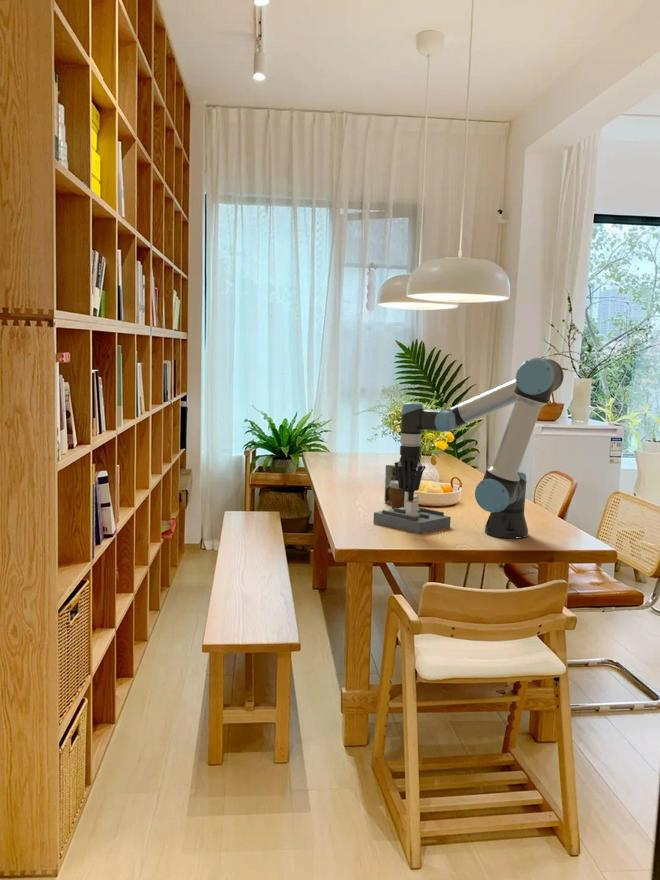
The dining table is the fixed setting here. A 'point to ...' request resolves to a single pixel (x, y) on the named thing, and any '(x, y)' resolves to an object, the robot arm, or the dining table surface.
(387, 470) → the coffee box
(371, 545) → the dining table surface
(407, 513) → the breaker slider
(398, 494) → the disposable coffee cup
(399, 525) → the dark grey tray
